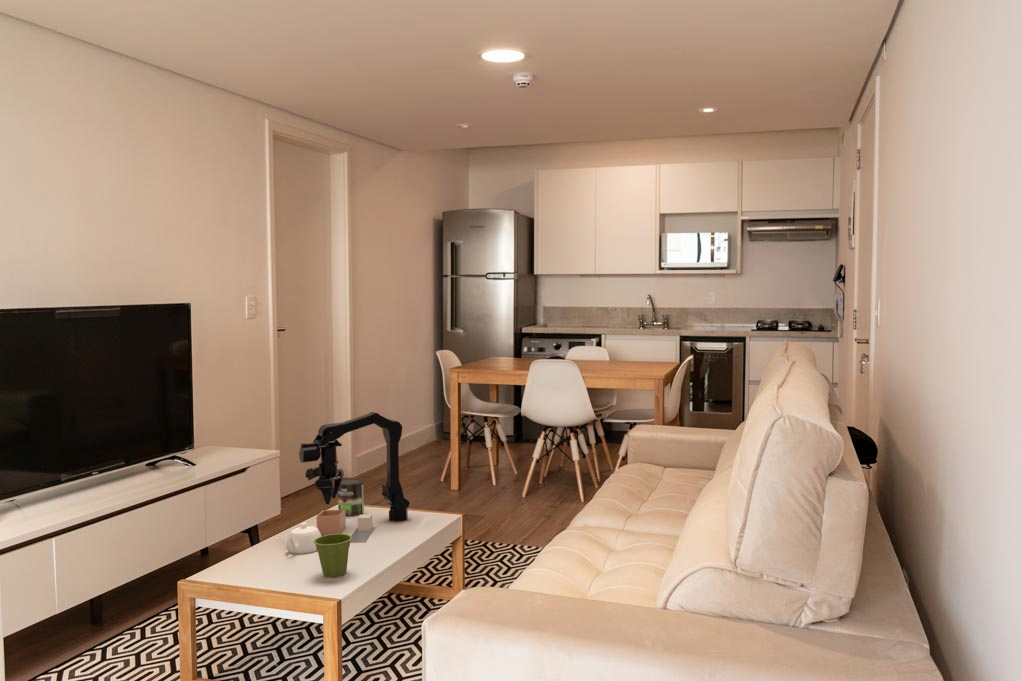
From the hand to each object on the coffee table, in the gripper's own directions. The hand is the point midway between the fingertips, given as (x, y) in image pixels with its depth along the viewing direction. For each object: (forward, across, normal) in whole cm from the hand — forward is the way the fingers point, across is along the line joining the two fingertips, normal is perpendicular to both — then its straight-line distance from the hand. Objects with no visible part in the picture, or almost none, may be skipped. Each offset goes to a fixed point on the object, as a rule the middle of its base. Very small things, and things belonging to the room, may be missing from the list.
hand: (330, 501), depth 295 cm
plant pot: (+13, +44, +12) cm, 47 cm away
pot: (+12, 0, 0) cm, 12 cm away
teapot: (+13, +21, -4) cm, 25 cm away
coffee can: (+13, -25, +2) cm, 28 cm away
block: (+11, -1, +12) cm, 17 cm away
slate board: (+12, +6, +12) cm, 18 cm away
